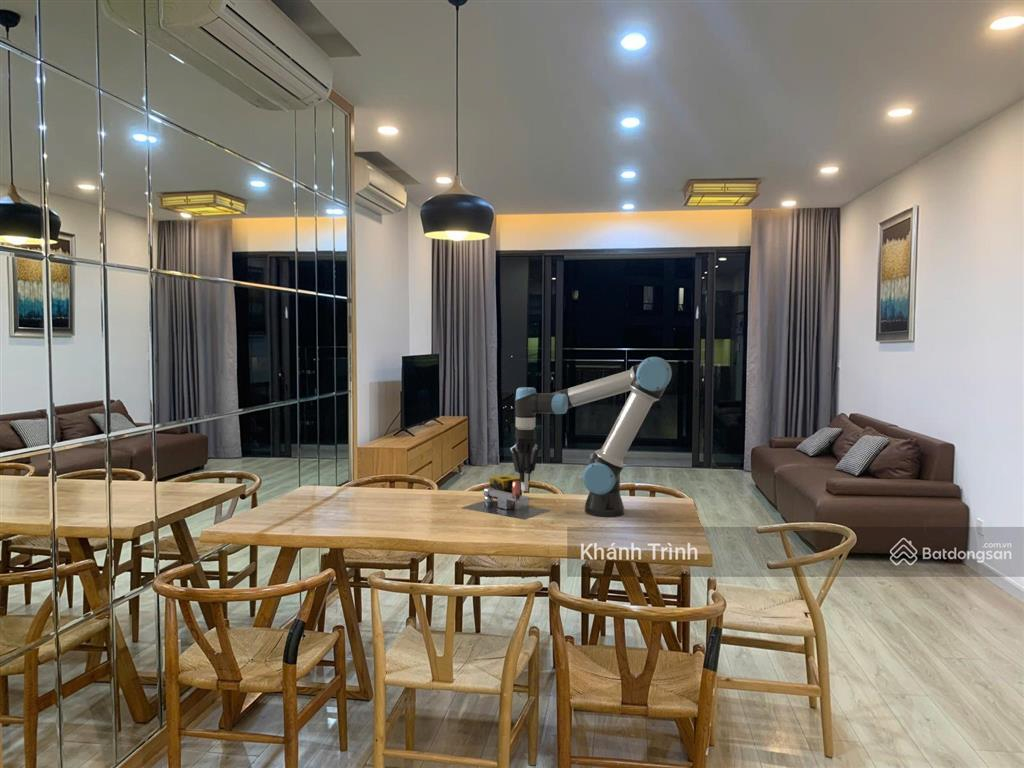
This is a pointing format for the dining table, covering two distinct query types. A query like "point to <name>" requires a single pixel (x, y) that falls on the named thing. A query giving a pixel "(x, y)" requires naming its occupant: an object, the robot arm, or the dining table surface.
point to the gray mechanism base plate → (519, 512)
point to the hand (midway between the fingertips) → (524, 490)
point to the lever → (505, 495)
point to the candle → (503, 483)
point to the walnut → (512, 504)
